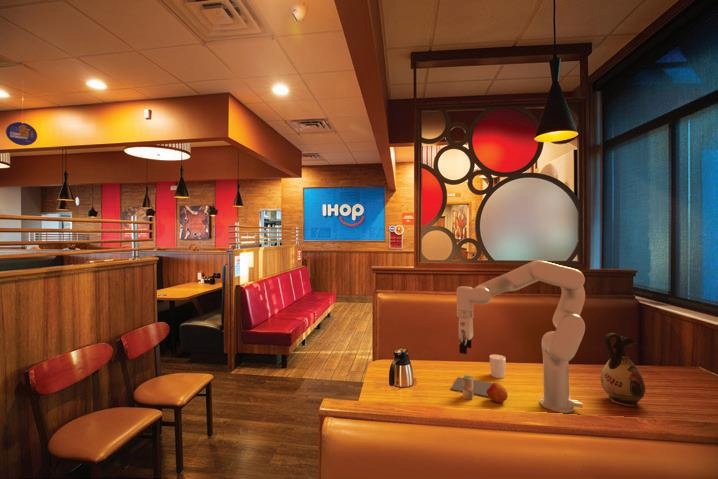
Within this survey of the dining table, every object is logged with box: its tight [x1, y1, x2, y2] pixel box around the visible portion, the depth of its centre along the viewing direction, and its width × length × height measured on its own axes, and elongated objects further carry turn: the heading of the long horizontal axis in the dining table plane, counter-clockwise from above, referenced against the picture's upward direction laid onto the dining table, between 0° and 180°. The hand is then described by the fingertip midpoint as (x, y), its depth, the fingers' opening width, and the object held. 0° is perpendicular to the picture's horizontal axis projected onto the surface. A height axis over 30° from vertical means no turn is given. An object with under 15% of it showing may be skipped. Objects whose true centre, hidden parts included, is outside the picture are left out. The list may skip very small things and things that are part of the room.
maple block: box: [462, 374, 475, 401], centre depth 152 cm, size 4×4×9 cm
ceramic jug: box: [600, 332, 646, 408], centre depth 147 cm, size 17×15×30 cm
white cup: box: [489, 354, 507, 379], centre depth 176 cm, size 8×8×10 cm
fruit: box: [487, 382, 508, 404], centre depth 148 cm, size 8×8×8 cm
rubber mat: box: [450, 376, 494, 399], centre depth 162 cm, size 18×16×1 cm
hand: (465, 350), depth 153 cm, fingers open, 9 cm apart
